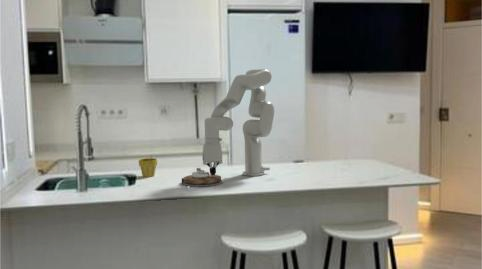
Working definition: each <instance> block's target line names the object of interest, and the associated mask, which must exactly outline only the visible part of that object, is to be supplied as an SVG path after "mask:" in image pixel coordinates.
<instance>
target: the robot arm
mask: <svg viewBox="0 0 482 269" xmlns="http://www.w3.org/2000/svg"><path fill="white" fill-rule="evenodd" d="M271 80H272V73H271V71H269V70H268V69H264V68H263V69H250V70H248V71H246V73H245V74H239V75H236V76H235V77H234V78H233V80H232V83H231V84H230V87H229V90H227V93H226V96H225V97H224V99H223V100H221V101H220V102H219V104H217V105H216V106H215V108H214V109H213V112H212V114H211V115H210V117H206V118H205V119H204V143H203V144H202V145H203V146H202V155H201V156H202V165H205V166H208V167H209V174H211V175H216V174H217V167H218V166H219V165H222V164H223V149H222V145H221V141H223V138H222V137H220V131H225V132H226V131H229V130H231V129H232V128H233V127H234V121H233V118H231V117H229V116H225V115H226V113H228V112H229V111H230V110H232V109H235V108H236V107H237V106H239V105H240V104H241V102H242V100H243V97H244V96H245V92H246V91H250V92H251V93H250V100H249V106H248V115H249V116H250V117H251V118H255V119H247V120H246V121H245V122H244V123H243V124H242V133H243V138H244V168H245V171H242V175H243V176H247V177H259V176H263V175H265V172H266V171H270V170H271V167H269V166H263V164H262V141H261V139H260V138H267V137H268V136H269V135H270V134H271V132H272V128H273V123H274V122H273V121H274V116H275V107H274V105H273V103H272V102H271V101H268V100H267V101H266V96H267V92H266V88H265V86H267V85H268V84H269V83H270V82H271ZM258 118H259V119H258Z"/></svg>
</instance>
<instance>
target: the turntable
mask: <svg viewBox="0 0 482 269" xmlns="http://www.w3.org/2000/svg"><path fill="white" fill-rule="evenodd" d="M197 170H202V168H201V167H196V171H197ZM182 178H183V180H184V183H187V184H194V185H204V184H214V183H218V182H220V181H221V179H222V176H221V175H219V174H215V175H211V174H210V173H209V178H207V179H192V174H191V175H190V174H189V175H185V176H184V177H182Z"/></svg>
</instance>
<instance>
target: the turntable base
mask: <svg viewBox="0 0 482 269" xmlns="http://www.w3.org/2000/svg"><path fill="white" fill-rule="evenodd" d="M183 178H184V177H182V178H181V185H182V186H184V185H185V187H188V186H190V187H189V188H208V187H209V188H210V187H216V186H220V185H222V184H223V183H224V180H223V179H222V178H221V181H220V182H218V183H214V184H204V185H194V184H187V183H184V180H183Z"/></svg>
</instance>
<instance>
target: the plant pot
mask: <svg viewBox="0 0 482 269" xmlns="http://www.w3.org/2000/svg"><path fill="white" fill-rule="evenodd" d="M138 165H139V167H140V170H141V175H142V177H143V178H151V177H152V178H153V177H154V176H155V174H156V169H157V166H158V159H157V158H156V157H155V158H152V157H149V158H148V157H146V158H140V159H139V160H138Z"/></svg>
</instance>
